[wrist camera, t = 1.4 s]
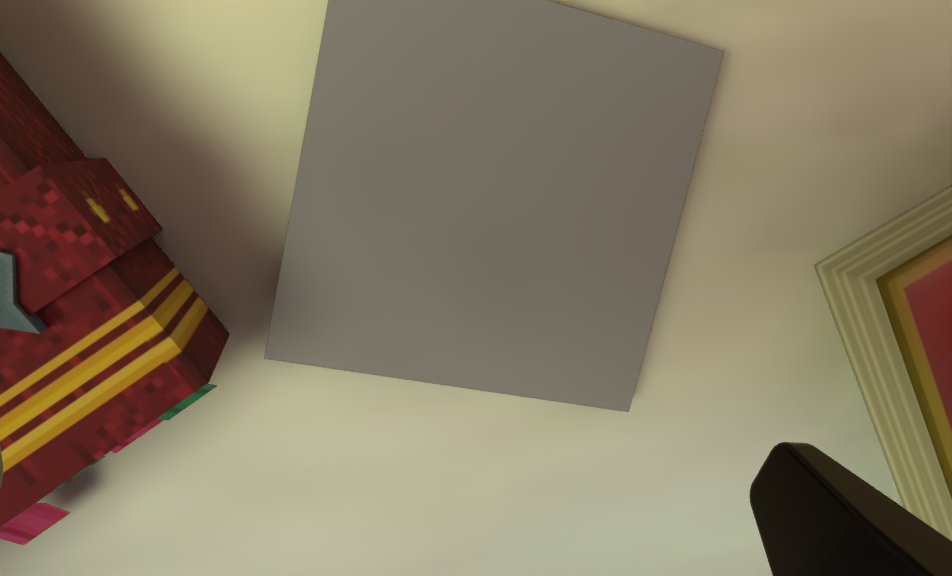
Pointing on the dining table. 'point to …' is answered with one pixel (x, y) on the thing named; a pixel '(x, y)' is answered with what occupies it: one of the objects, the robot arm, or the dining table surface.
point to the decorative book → (81, 315)
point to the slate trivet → (489, 196)
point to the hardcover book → (903, 346)
